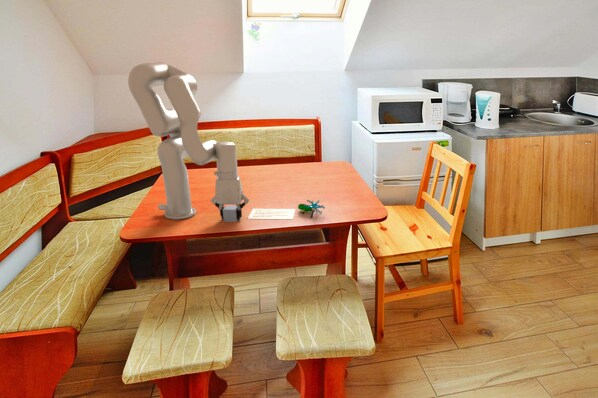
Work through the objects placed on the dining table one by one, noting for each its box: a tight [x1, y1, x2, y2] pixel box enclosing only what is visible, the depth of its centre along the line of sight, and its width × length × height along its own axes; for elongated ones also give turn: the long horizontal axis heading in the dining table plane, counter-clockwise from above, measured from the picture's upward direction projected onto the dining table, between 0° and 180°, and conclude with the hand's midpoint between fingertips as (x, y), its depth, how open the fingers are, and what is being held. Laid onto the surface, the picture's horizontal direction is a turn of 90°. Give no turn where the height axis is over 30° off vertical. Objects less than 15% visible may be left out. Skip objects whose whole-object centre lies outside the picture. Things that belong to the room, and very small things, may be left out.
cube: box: [222, 204, 239, 223], centre depth 167 cm, size 5×5×5 cm
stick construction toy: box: [297, 199, 326, 219], centre depth 170 cm, size 12×7×8 cm
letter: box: [247, 208, 296, 220], centre depth 172 cm, size 18×11×1 cm, turn 85°
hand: (231, 217), depth 168 cm, fingers open, 5 cm apart
